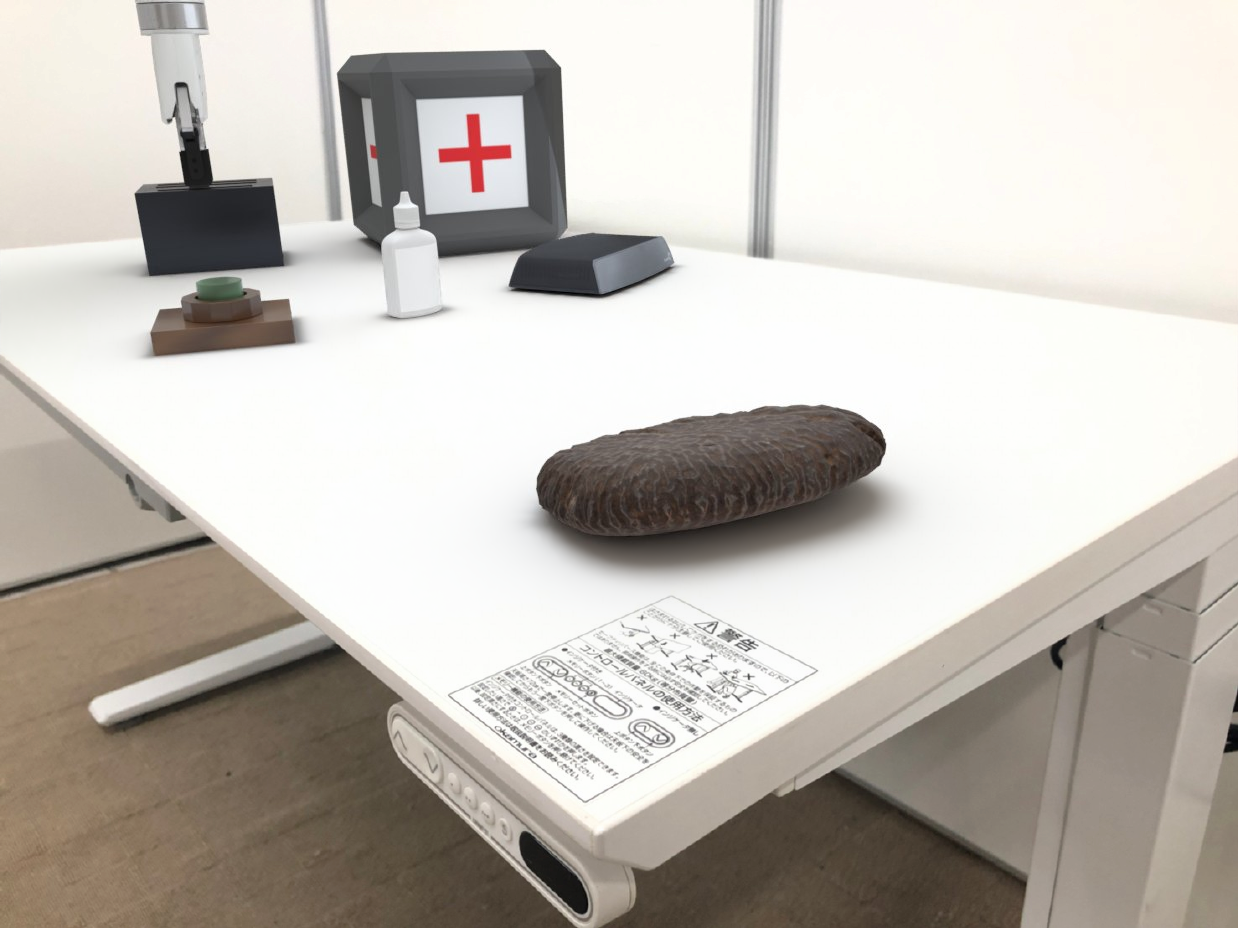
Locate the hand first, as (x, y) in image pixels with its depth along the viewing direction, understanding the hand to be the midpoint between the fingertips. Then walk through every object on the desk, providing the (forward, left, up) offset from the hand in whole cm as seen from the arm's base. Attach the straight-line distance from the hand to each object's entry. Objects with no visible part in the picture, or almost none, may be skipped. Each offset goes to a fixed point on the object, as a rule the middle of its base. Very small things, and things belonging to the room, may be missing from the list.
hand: (199, 182), depth 130 cm
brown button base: (+3, -39, -11) cm, 41 cm away
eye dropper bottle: (+21, -36, -11) cm, 43 cm away
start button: (+3, -39, -7) cm, 40 cm away
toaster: (+1, +4, -11) cm, 11 cm away
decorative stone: (+30, -92, -11) cm, 97 cm away
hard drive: (+43, -26, -11) cm, 51 cm away
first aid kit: (+33, +8, -11) cm, 35 cm away
